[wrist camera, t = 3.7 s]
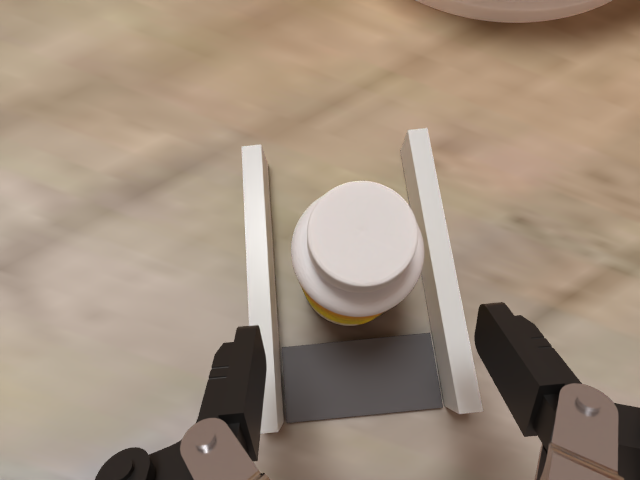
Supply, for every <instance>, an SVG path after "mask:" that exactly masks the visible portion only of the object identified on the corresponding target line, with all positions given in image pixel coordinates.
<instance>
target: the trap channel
mask: <svg viewBox="0 0 640 480" xmlns="http://www.w3.org/2000/svg"><path fill="white" fill-rule="evenodd" d="M400 151H401V157H402V163H403V169H404V175H405V180H406V186H407V192H408V198H409V204H410V208H411V210H412V211H413V214H414V216H415V219H416V222H417V224H418V226H419V228H420V231H421V234H422V238H423V243H424V263H423V268H422V271H421V273H422V279H423V285H424V291H425V296H426V302H427V308H428V314H429V320H430V326H431V331H432V337H433V343H434V349H435V355H436V360H437V366H438V372H439V378H440V384H441V389H442V395H443V401H444V406H445V407H447V408H449V409H451V410H453V411H454V412H456V413H458V414H465V413H476V412H483V407H482V402H481V397H480V392H479V387H478V382H477V377H476V372H475V367H474V361H473V356H472V351H471V346H470V341H469V336H468V331H467V326H466V321H465V316H464V311H463V306H462V301H461V296H460V291H459V286H458V281H457V276H456V271H455V266H454V261H453V255H452V250H451V245H450V240H449V235H448V230H447V225H446V220H445V215H444V210H443V205H442V200H441V195H440V190H439V185H438V180H437V175H436V170H435V165H434V160H433V155H432V149H431V144H430V139H429V134H428V129H427V128H423V129H413V130H408V131H407V133H406V136H405V139H404V142H403V145H402V147H401V150H400ZM242 166H243V190H244V214H245V238H246V261H247V285H248V309H249V326H253V325H259V328H260V332H261V336H262V341H263V345H264V350H265V355H266V364H267V371H266V382H265V391H264V401H263V411H262V421H261V431H260V434H263V433H273V432H278V431H279V429H280V428H281V426H282V424H283V423H284V413H283V397H282V381H281V365H280V349H279V333H278V317H277V301H276V285H275V270H274V254H273V238H272V222H271V206H270V190H269V174H268V163H267V160H266V157H265V154H264V151H263V148H262V145H252V146H242ZM282 356H283V372H284V387H285V403H286V418H287V423H292V422H302V421H312V420H322V419H332V418H343V417H353V416H363V415H373V414H383V413H393V412H403V411H413V410H424V409H434V408H443V405H442V399H441V394H440V388H439V382H438V376H437V370H436V364H435V359H434V353H433V347H432V341H431V335H430V333H423V334H413V335H403V336H392V337H382V338H372V339H362V340H352V341H342V342H332V343H322V344H312V345H302V346H291V347H282Z"/></svg>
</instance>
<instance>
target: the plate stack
mask: <svg viewBox="0 0 640 480" xmlns="http://www.w3.org/2000/svg"><path fill="white" fill-rule="evenodd" d="M415 1H417V2H420V3H422V4H424V5H427V6H429V7H432V8H435V9H437V10H440V11H443V12H447V13H450V14H454V15H457V16H462V17H466V18H471V19H477V20H484V21H492V22H506V23H527V22H541V21H549V20H555V19H561V18H566V17H570V16H574V15H577V14H581V13H584V12H587V11H590V10H593V9H595V8H598V7H600V6H602V5H604V4H607V3H609V2H611V1H612V0H415Z"/></svg>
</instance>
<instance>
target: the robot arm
mask: <svg viewBox="0 0 640 480" xmlns="http://www.w3.org/2000/svg"><path fill="white" fill-rule="evenodd" d="M475 346H476V349H477V352H478V354H479V356H480V358H481V359H482V361H483V363H484V365H485V367H486V368H487V370H488V372H489V374H490V376H491V377H492V379H493V381H494V383H495V385H496V386H497V388H498V390H499V392H500V394H501V395H502V397H503V399H504V401H505V403H506V405H507V406H508V408H509V410H510V412H511V414H512V415H513V417H514V419H515V421H516V423H517V424H518V426H519V428H520V430H521V432H522V433H523V435H524V437H527V436H537V435H538V437H539V438H540V440H541V442H542V446H541V449H540V454H539V459H538V465H537V470H536V475H535V480H640V408H638V407H632V406H627V405H621V404H616V403H613V402H612V400H611V399H610V398H609V397H608V396H606V395H605V394H604V393H602V392H601V391H599V390H597V389H595V388H593V387H591V386H588V385H584V384H582V383H581V382H580V381H579V379H578V378H577V377H576V376H575V374H574V373H573V372H572V371H571V369H570V368H569V367H568V366H567V364H566V363H565V362H564V361H563V359H562V358H561V357H560V356H559V354H558V353H557V352H556V351H555V349H554V348H552V347H551V344H550V343H549V342H548V341H547V339H546V338H545V339H544V336H543V334H542V333H541V332H540V331H539V329H538V328H537V327H536V326H535V325H534V324H533V323H531V322H530V321H528V320H527V319H526V318H524V317H523V316H521V315H518V316H514V315H513V313H512V312H511V311H510V309H509V308H508V307H507V305H506V304H505V303H503V302H500V303H490V304H481V305H480V307H479V311H478V317H477V323H476V330H475ZM266 371H267V364H266V355H265V350H264V345H263V341H262V336H261V332H260V328H259V325H253V326H243V327H238V328H237V330H236V335H235V339H234V342H229V343H223V345H222V346H221V347H220V349H219V350H218V351H217V352H216V354H215V356H214V360H213V364H212V370H211V371H210V375H209V380H208V382H207V386H206V390H205V394H204V397H203V401H202V405H201V408H200V412H199V416H198V419H197V422H196V424H194V425H193V426H192V427H191V428H190V429H189V430H188V431H187V432H186V433H185V435H184V437H183V439H182V440H181V441H179V442H177V443H176V444H174V445H172V446H169V447H167V448H164V449H162V450H159V451H157V452H154V453H152V454H149V455H148V453H147V452H146V451H145V450H143V449H141V448H136V447H135V448H128V449H125V450H122V451H120V452H118V453H117V454H115V455H114V456H112V457H111V458H110V459H109V460H108V461H107V462H106V463H105V464H104V465H103V466H102V467H101V469H100V470H99V472H98V474H97V476H96V478H95V480H270V479H269V477H268V476H267V475H266V474H265V473H263V474H262V473H260V471H259V470H258V469H257V467H256V466H255V464H254V463H253V461H257V460H258V450H259V441H260V431H261V421H262V411H263V401H264V391H265V382H266Z"/></svg>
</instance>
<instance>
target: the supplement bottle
mask: <svg viewBox="0 0 640 480" xmlns="http://www.w3.org/2000/svg"><path fill="white" fill-rule="evenodd" d="M291 256H292V263H293V268H294V271H295V274H296V276H297V278H298V281H299V283H300V285H301V287H302V290H303V292H304V294H305V296H306V298H307V300H308V302H309V303H310V305H311V307H312V308H313V309H314V310H315V311H316V312H317V313H318V314H319V315H320V316H321V317H323V318H325V319H326V320H328V321H330V322H332V323H335V324H339V325H344V326H355V325H361V324H364V323H367V322H370V321H372V320H373V319H375V318H377V317H378V316H380V315H382V314H383V313H385V312H386V311H388V310H390V309H392V308H393V307H395V306H397V305H398V304H399V303H400V302H401V301H402V300H403V299H404V298H405V297H406V296H407V295H408V294H409V293H410V292H411V291H412V289H413V288H414V286H415V285H416V283H417V281H418V279H419V277H420V274H421V271H422V268H423V263H424V243H423V238H422V234H421V231H420V228H419V226H418V224H417V222H416V219H415V216H414V214H413V211H412V210H411V208H410V207H409V205H408V204H407V202H406V201H405V200H404V199H403V198H402V197H401V196H400V195H399V194H398V193H396V192H395V191H394V190H392V189H390V188H388V187H386V186H384V185H382V184H379V183H375V182H370V181H353V182H348V183H344V184H341V185H339V186H337V187H335V188H333V189H331V190H330V191H329V192H327V193H326V194H325V195H323V196H322V197H320V198H318V199H317V200H316V201H314V202H313V203H312V204H311V205H310V206H309V207H308V208H307V209H306V210H305V212H304V213H303V214H302V216H301V217H300V219H299V221H298V223H297V225H296V227H295V230H294V233H293V237H292V244H291Z"/></svg>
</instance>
